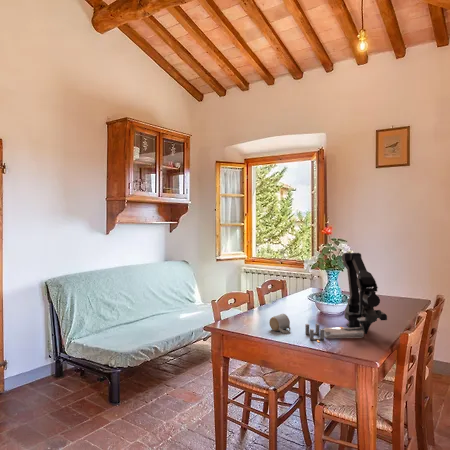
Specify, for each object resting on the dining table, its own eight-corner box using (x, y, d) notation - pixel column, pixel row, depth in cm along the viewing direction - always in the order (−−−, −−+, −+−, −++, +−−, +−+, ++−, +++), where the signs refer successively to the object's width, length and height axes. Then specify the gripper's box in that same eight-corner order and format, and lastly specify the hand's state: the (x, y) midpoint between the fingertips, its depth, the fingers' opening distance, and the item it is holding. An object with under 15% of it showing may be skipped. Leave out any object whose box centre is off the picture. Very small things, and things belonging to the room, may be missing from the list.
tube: (326, 338, 176) (326, 329, 176) (323, 335, 180) (323, 326, 180) (363, 338, 177) (363, 328, 177) (359, 335, 181) (360, 325, 181)
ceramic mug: (268, 329, 190) (268, 314, 190) (279, 326, 195) (280, 312, 195) (282, 335, 182) (282, 319, 181) (294, 332, 186) (294, 317, 186)
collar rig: (304, 332, 185) (304, 322, 185) (317, 332, 186) (317, 322, 186) (311, 342, 171) (312, 331, 171) (325, 342, 171) (326, 331, 171)
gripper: (353, 306, 170) (353, 340, 170) (393, 305, 171) (392, 339, 171) (344, 300, 181) (344, 332, 182) (381, 299, 182) (381, 331, 182)
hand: (365, 333), depth 179 cm, fingers closed
